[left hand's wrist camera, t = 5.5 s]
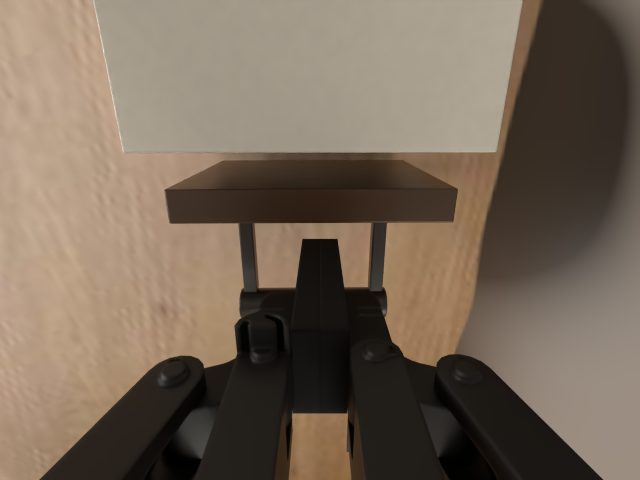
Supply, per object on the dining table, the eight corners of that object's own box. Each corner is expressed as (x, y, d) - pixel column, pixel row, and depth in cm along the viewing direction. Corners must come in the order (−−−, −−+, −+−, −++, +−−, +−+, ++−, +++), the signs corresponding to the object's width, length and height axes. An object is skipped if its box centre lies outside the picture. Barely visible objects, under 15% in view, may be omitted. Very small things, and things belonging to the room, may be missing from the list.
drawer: (393, 272, 21) (435, 354, 14) (233, 273, 21) (190, 357, 14) (437, -255, 13) (584, -698, 6) (181, -258, 13) (18, -715, 6)
